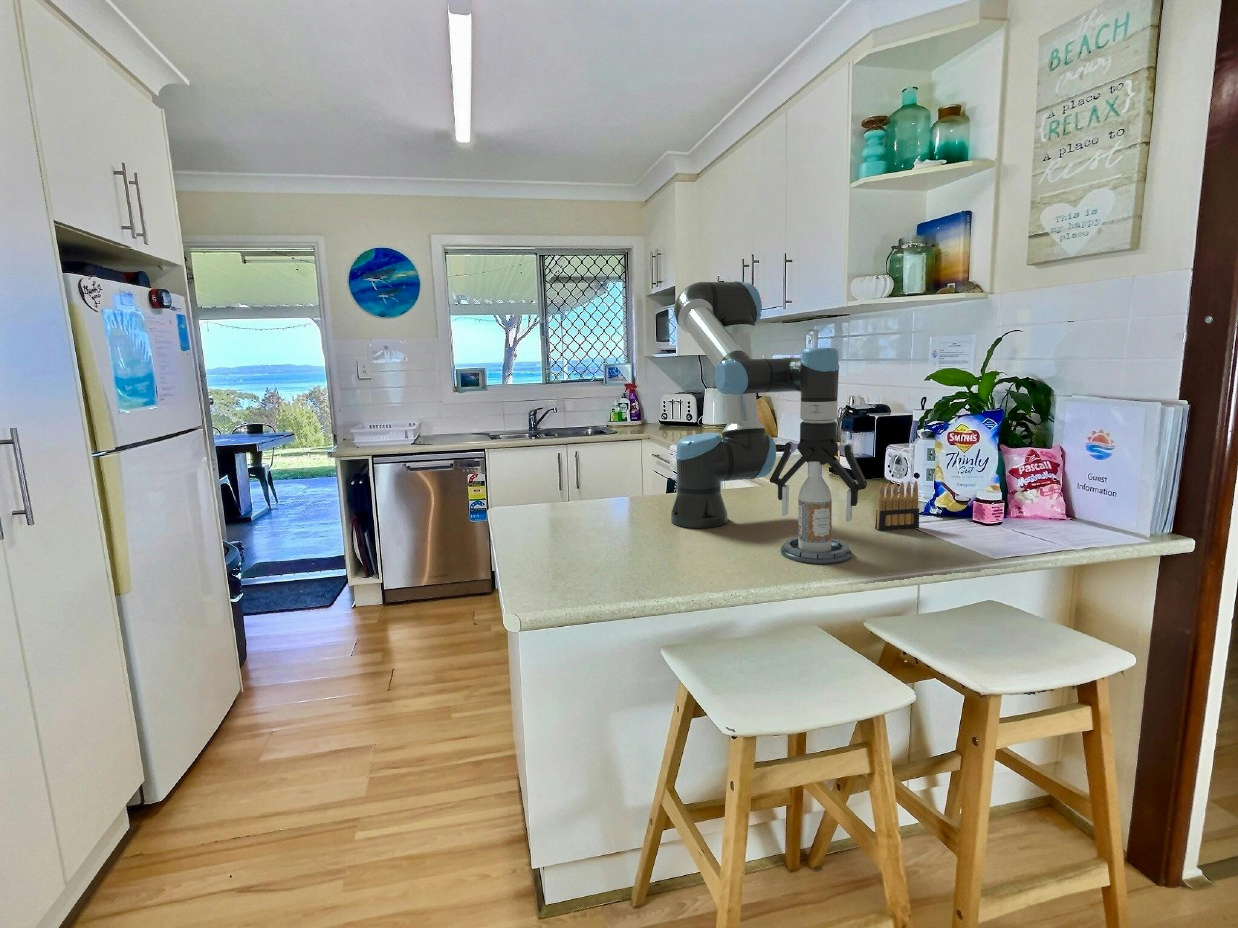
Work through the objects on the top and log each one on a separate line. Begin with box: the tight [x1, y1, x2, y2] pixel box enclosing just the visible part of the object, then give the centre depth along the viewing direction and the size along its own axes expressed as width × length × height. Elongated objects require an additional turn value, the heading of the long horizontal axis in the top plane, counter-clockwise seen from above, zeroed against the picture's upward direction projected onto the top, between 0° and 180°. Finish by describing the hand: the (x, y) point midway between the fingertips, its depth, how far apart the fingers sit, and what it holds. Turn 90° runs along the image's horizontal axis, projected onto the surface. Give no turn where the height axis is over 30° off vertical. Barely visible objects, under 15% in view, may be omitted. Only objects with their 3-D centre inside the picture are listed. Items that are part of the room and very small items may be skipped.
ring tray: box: [780, 536, 853, 565], centre depth 138 cm, size 15×15×2 cm
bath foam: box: [797, 461, 833, 553], centre depth 136 cm, size 7×7×20 cm
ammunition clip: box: [874, 480, 920, 532], centre depth 154 cm, size 11×2×12 cm, turn 97°
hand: (816, 517), depth 137 cm, fingers open, 13 cm apart
